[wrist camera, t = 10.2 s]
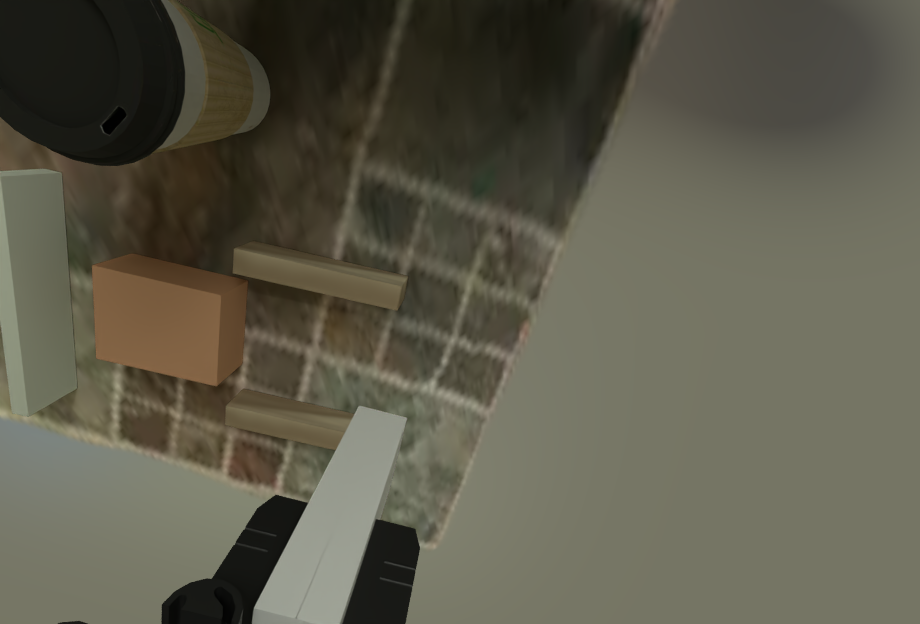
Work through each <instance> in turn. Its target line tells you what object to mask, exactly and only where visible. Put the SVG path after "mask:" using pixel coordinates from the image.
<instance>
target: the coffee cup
mask: <svg viewBox="0 0 920 624" xmlns="http://www.w3.org/2000/svg"><path fill="white" fill-rule="evenodd" d="M269 104H270V85H269V81H268V78H267V75H266V73H265V71H264V68H263V67H262V65H261V64H260V62H259V61H258V59H257V58H256V57H255V56H254V55H253V54H252V53H251V52H249V51H248V50H247V49H245V48H244V47H242V46H241V45H239V44H238V43H236V42H235V41H233V40H232V39H231V38H230V37H229V36H228V35H227V34H225V33H224V32H222V31H221V30H220V29H218V28H217V27H215V26H214V25H212V24H211V23H209V22H208V21H206V20H205V19H203V18H202V17H200V16H199V15H197V14H196V13H194V12H193V11H191V10H190V9H188V8H187V7H185V6H184V5H182V4H181V3H179V2H178V1H176V0H0V117H1V118H2V119H3V120H4V121H5V122H7V123H8V124H9V125H10V126H11V127H12V128H13V129H14V130H16V131H18V132H19V133H21V134H22V135H24V136H25V137H27V138H28V139H30V140H32V141H34V142H36V143H39V144H41V145H43V146H45V147H47V148H49V149H50V150H52V151H54V152H56V153H59V154H61V155H63V156H66V157H68V158H70V159H73V160H77V161H81V162H85V163H90V164H95V165H101V166H119V165H124V164H129V163H134V162H136V161H138V160H141V159H143V158H145V157H147V156H149V155H150V154H154V153H159V152H164V151H168V150H173V149H178V148H182V147H187V146H192V145H196V144H201V143H206V142H211V141H215V140H220V139H224V138H226V137H228V136H230V135H233V134H238V133H243V132H247V131H249V130H252V129H253V128H255V127H256V126H257V125H259V124H260V122H261V121H262V120H263V119H264V117H265V115H266V113H267V111H268V107H269Z"/></svg>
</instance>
